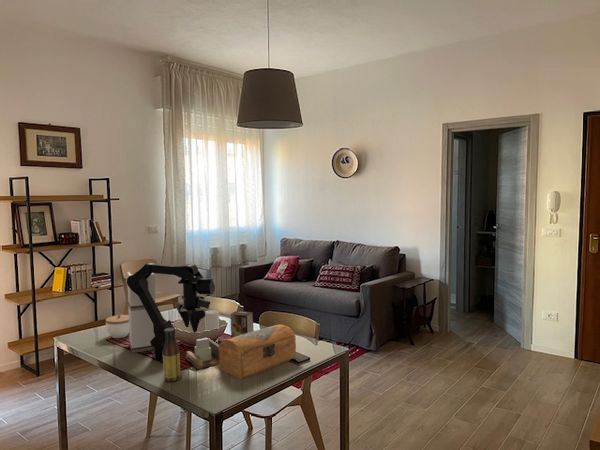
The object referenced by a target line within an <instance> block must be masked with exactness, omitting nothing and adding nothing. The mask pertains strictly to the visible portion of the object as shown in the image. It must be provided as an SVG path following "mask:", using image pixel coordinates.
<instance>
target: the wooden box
mask: <svg viewBox="0 0 600 450" xmlns="http://www.w3.org/2000/svg"><path fill="white" fill-rule="evenodd" d="M296 343H297V341H296V335H295V332H294V331H293V329H292V328H291V327H289V326H287V325H285V324H275V325H272V326H268V327H264V328H260V329H257V330H256V329H255V330H254V331H252V332H249V333H245V334H242V335H239V336H236V337H233V338H231V337H230V338H227V339H223V340H222V341H220V342H219V362H220V364H219V370H220V371H223V372H225V373H228V374H230V375H232V376H233V377H236V378H238V379H241V380H244V379H247V378H249V377H252V376H254V375H258V374H259V373H263V372H264V371H267V370H269V369H272V368H275V367H277V366H280V365H283V364H285V363H288V362H290V360H291V359H292V358H294V357H295V358H296V351H297V350H296V348H297V345H296ZM291 361H292V360H291Z"/></svg>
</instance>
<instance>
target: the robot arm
mask: <svg viewBox="0 0 600 450" xmlns="http://www.w3.org/2000/svg"><path fill="white" fill-rule="evenodd" d="M152 273H154V274H158V275H159V274H160V275H172V276H175V277H178V278H180V280H179V281H178V282H177V283H178V284H180V285H182V290H183V291H182V293H183V294H182V295H181V299H182V302H178V303H177V304H176V310H177V313H178V314H179V316H180V318H181V319H182V322H183V324H184V326H185V327H186V328H189V325H190V326H191V329H192V332H193V333H197V331H198V327H199V324H200V321H201V320H202V319H203V318H204V319H205V312H206V311H205V310H204V309H202V308H205V309H207V310H208V309H209V308H210V305H211V301H210V300H207V299H205V297H204V296H202V295H208V296H209V295H214V293H215V291H216V284H215V282H214V281H213V278H211V277H209V278H204V276H203V275H202V273H201V272H200V271H199V268H198V266H197V265H196V264H195V263H185V264H179V265H178V264H177V265H176V264H175V265H174V264H166V263H165V264H164V263H155V262H148V263H145V264H144V265H143V266H142V267H141V268H140V269H138V270H137V271H136V272H135V273H133V274H132V275H131V276H129V277H128V278H127V279H126V285H127V287H128V286H129V288H130V289H131V290H132V291H133V292H134V293H135V294H137V295H138V296H139V298H140V300H141V302H142V304H143V306H144V308H145V310H146V312H147V313H148V315H149V317H150V319H151V321H152V323H153V331H154V338H153V339H152V340H151V341H150V343H151V346H153V350H152V353H153V354H152V355H151V356H152V358H153V359H154V360H155V361H159V360H160V361H161V360H163V348H164V344H165V334H164V330H165V329H167V328H175V326H174V325H173V323H172V321H171V320H170V319H168V320H166V319H165V318H164V317H163V315H162V313H161V311H160V309H159V308H158V306H157V304H156V300H155V301H154V300H153V298H152V296H151V294H150V292H149V290H148V281H147V278H148V277H149V276H150V275H151V274H152ZM209 310H210V309H209Z"/></svg>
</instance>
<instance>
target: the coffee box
mask: <svg viewBox="0 0 600 450" xmlns="http://www.w3.org/2000/svg"><path fill="white" fill-rule="evenodd" d="M252 331H255V330H254V312H252V311H251V312H250V311H243V310H241V311H240V310H235V311H234V312H231V313H230V338H233V337H236V336H239V335H242V334H245V333H249V332H252Z"/></svg>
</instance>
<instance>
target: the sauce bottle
mask: <svg viewBox="0 0 600 450" xmlns="http://www.w3.org/2000/svg"><path fill="white" fill-rule="evenodd" d="M164 334H165V344H164V348H163V359H162V363H163V364H162V366H163V368H162V369H163V377H164V380H165V381H166V382H168V383H169V382H170V383H172V382H176V381H178V380H180V379H181V376H182V375H181V374H182V373H181V372H182V371H181V358H180V345H179V344H178V342H177V340H176V329H175V328H167V329H165V330H164Z"/></svg>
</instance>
